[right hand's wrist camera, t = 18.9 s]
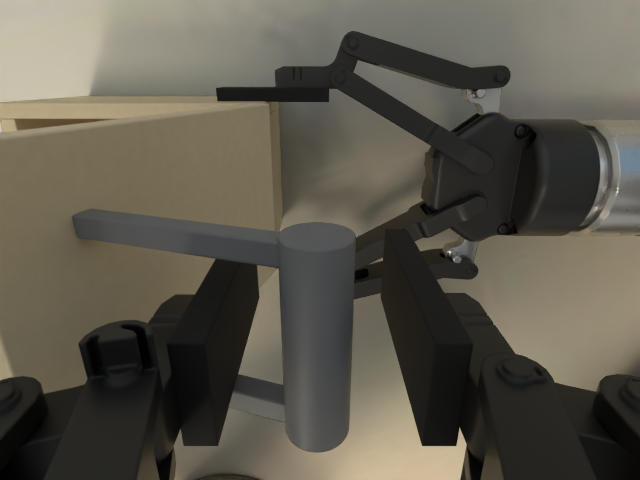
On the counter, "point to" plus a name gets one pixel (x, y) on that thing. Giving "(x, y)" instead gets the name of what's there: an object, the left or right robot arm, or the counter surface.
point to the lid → (168, 252)
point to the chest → (120, 107)
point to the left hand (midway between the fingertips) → (229, 178)
